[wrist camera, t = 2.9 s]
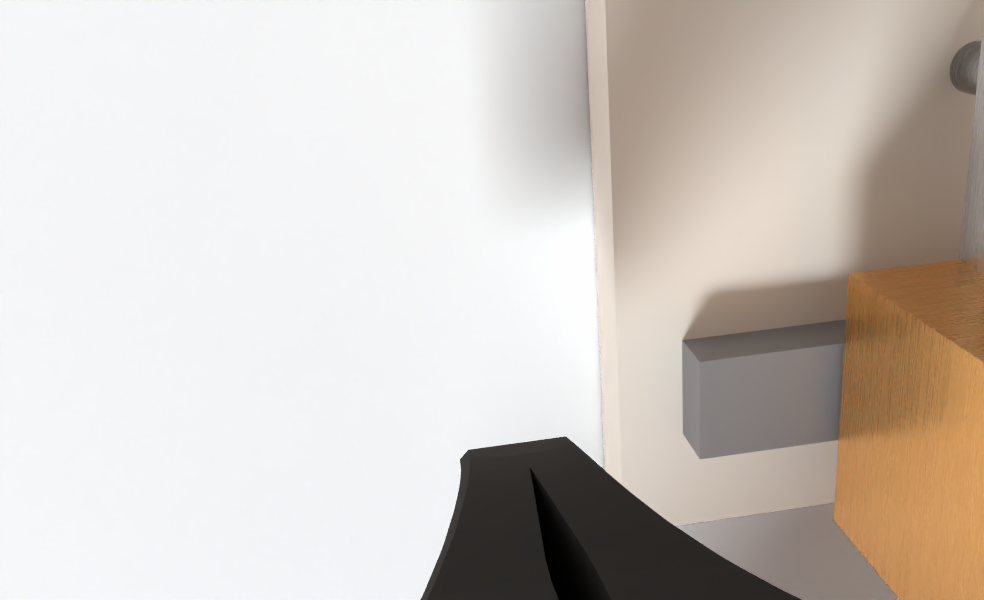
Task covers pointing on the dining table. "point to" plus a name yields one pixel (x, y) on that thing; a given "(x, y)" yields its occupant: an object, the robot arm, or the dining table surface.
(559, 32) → the dining table surface
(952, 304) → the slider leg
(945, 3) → the pitch plate
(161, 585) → the dining table surface
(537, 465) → the robot arm
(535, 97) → the dining table surface
